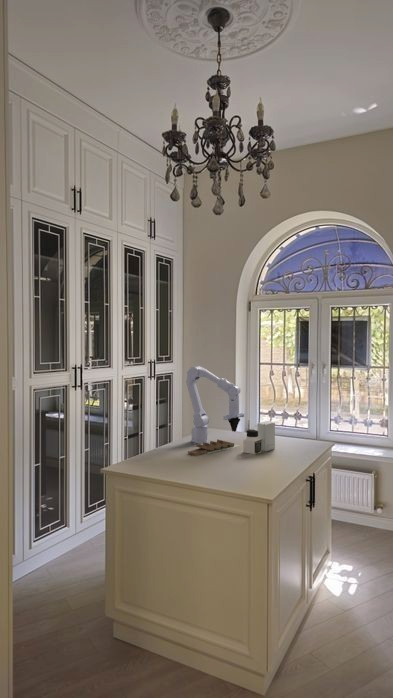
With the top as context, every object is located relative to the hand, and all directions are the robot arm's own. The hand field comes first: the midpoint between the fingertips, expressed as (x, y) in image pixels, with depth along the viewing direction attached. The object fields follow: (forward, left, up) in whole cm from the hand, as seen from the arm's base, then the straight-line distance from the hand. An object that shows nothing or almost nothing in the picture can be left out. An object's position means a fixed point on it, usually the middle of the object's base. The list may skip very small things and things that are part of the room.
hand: (234, 431), depth 258 cm
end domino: (0, -23, -7) cm, 24 cm away
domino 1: (0, -18, -7) cm, 19 cm away
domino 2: (0, -13, -7) cm, 15 cm away
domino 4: (0, -2, -7) cm, 7 cm away
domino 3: (0, -8, -7) cm, 10 cm away
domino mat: (0, -12, -8) cm, 14 cm away
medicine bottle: (+17, -4, -8) cm, 19 cm away
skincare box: (+18, +6, -8) cm, 21 cm away
